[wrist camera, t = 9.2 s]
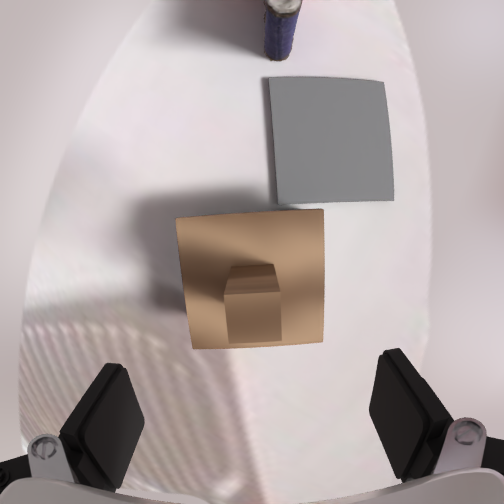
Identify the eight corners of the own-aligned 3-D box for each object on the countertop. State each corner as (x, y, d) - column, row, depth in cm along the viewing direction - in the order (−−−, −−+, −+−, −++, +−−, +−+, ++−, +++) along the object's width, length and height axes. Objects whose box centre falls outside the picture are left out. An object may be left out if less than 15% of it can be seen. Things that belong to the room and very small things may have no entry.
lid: (177, 217, 23) (149, 231, 16) (321, 208, 23) (347, 219, 16) (194, 344, 25) (177, 392, 19) (321, 337, 25) (339, 383, 19)
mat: (268, 79, 24) (268, 77, 24) (381, 83, 24) (383, 82, 23) (277, 204, 27) (278, 204, 26) (391, 200, 26) (394, 200, 26)
